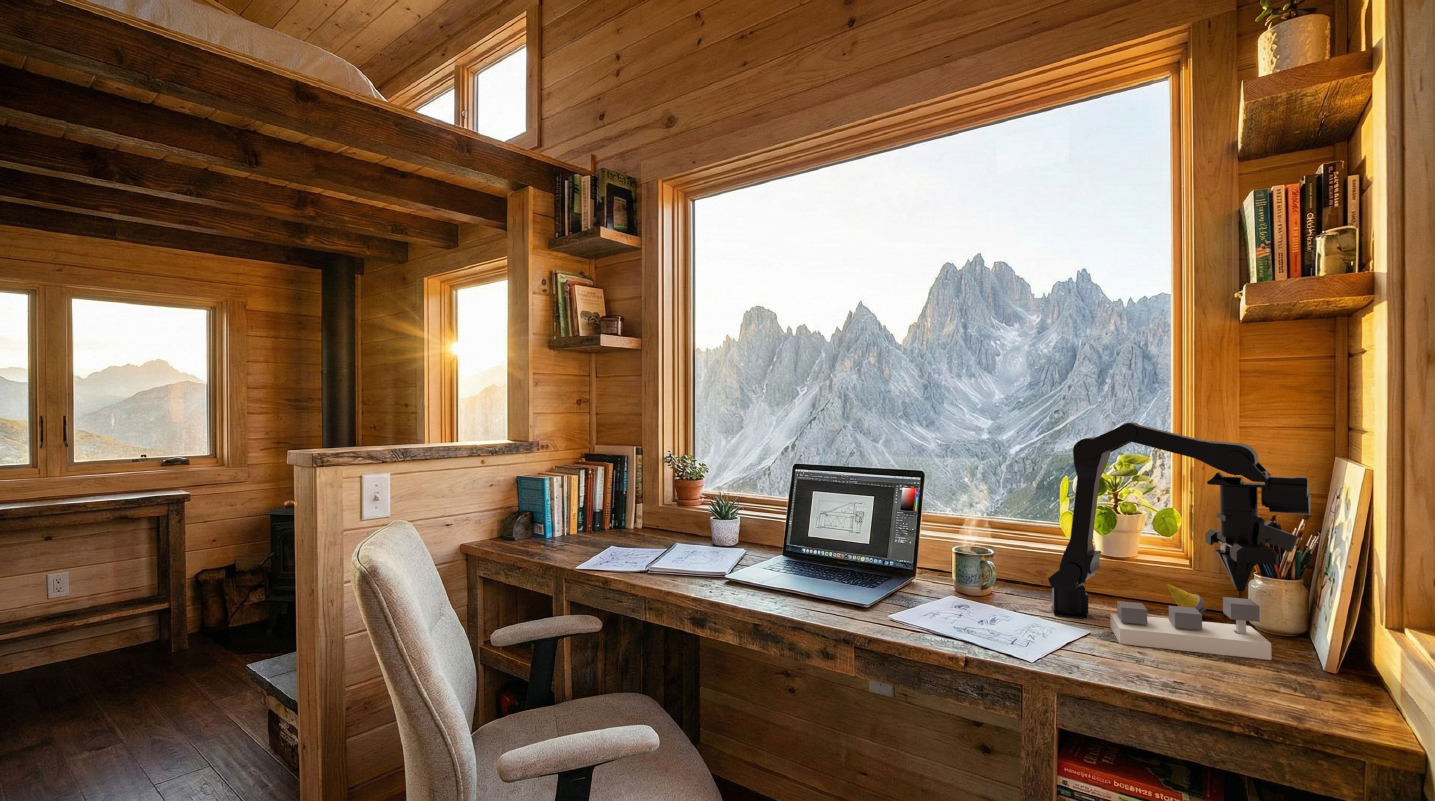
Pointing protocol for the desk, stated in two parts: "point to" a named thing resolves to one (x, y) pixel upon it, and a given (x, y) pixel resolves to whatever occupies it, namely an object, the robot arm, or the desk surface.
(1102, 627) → the desk surface
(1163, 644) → the console
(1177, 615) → the button middle
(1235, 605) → the button
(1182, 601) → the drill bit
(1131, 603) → the button
